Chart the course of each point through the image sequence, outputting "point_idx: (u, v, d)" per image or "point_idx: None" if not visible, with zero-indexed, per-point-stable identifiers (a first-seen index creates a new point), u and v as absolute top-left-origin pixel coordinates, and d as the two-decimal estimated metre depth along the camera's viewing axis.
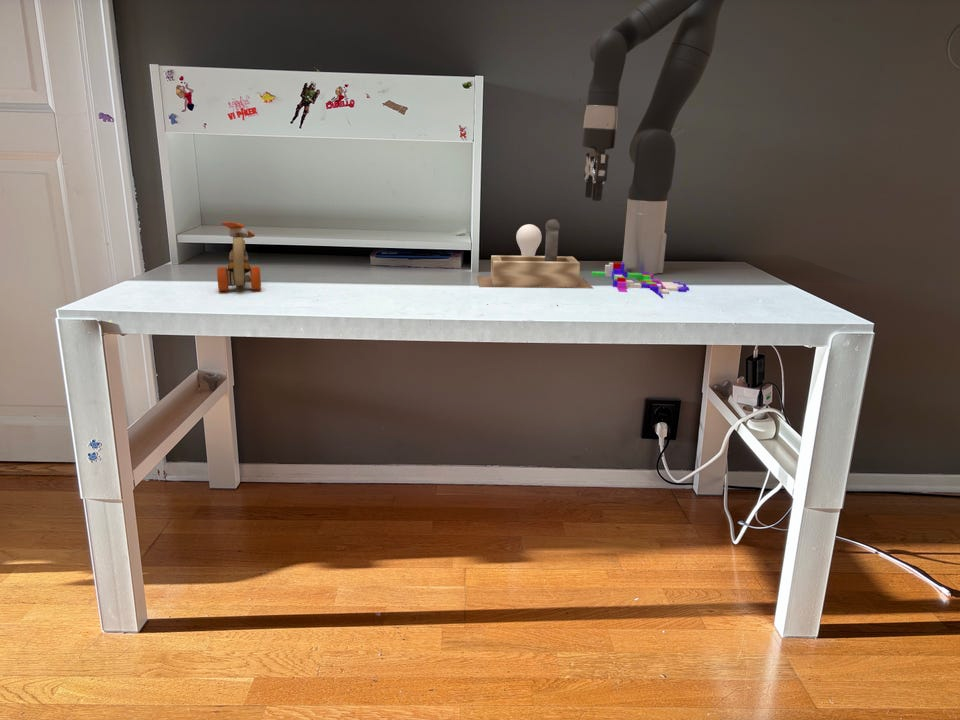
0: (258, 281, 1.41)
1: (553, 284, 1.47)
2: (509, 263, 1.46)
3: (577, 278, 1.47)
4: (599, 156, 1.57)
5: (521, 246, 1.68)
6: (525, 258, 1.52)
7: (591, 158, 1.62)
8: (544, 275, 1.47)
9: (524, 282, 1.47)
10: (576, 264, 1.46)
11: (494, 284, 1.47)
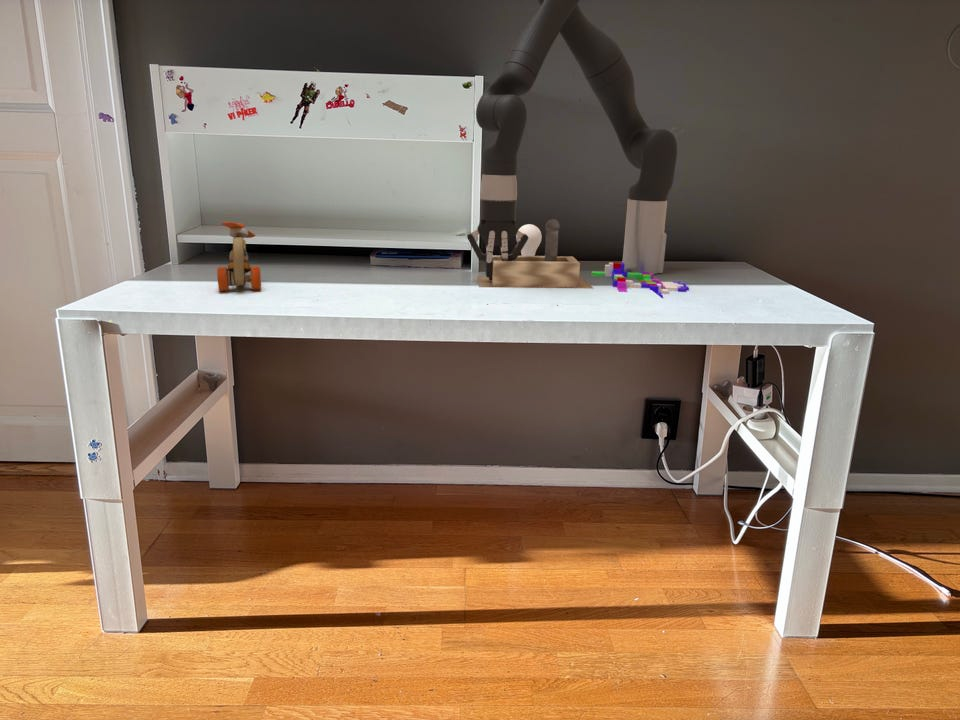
0: (258, 281, 1.41)
1: (553, 284, 1.47)
2: (509, 263, 1.46)
3: (577, 278, 1.47)
4: (527, 239, 1.48)
5: None
6: (525, 258, 1.52)
7: (507, 234, 1.46)
8: (544, 275, 1.47)
9: (524, 282, 1.47)
10: (576, 264, 1.46)
11: (494, 284, 1.47)
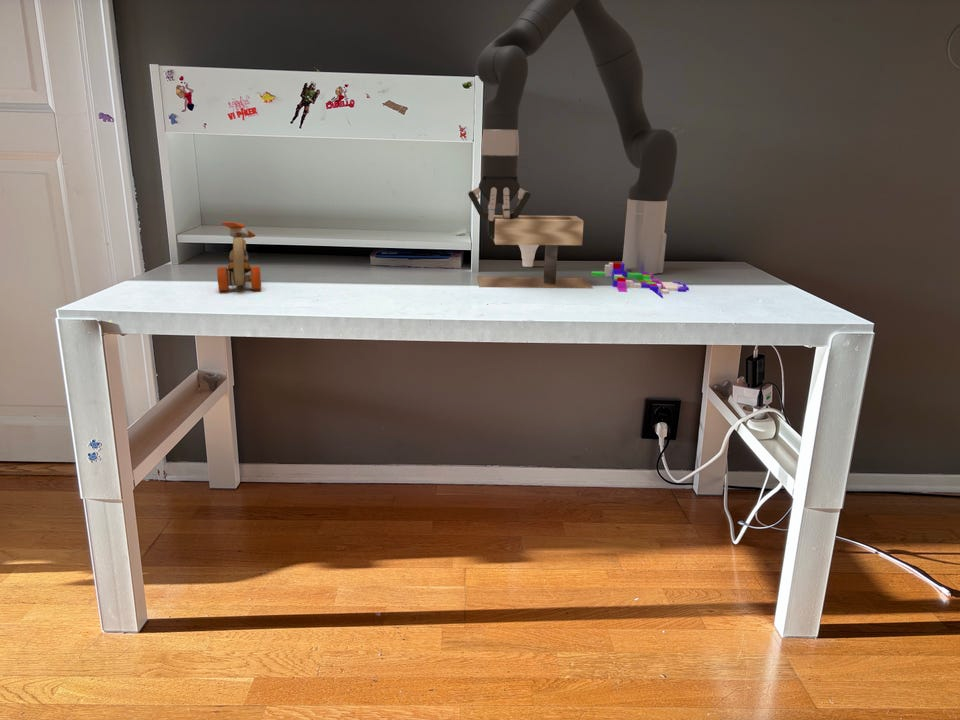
0: (258, 281, 1.41)
1: (556, 242, 1.45)
2: (511, 221, 1.43)
3: (581, 236, 1.45)
4: (529, 196, 1.45)
5: (521, 246, 1.68)
6: (527, 217, 1.50)
7: (509, 190, 1.44)
8: (547, 233, 1.44)
9: (527, 240, 1.44)
10: (580, 222, 1.44)
11: (496, 243, 1.44)
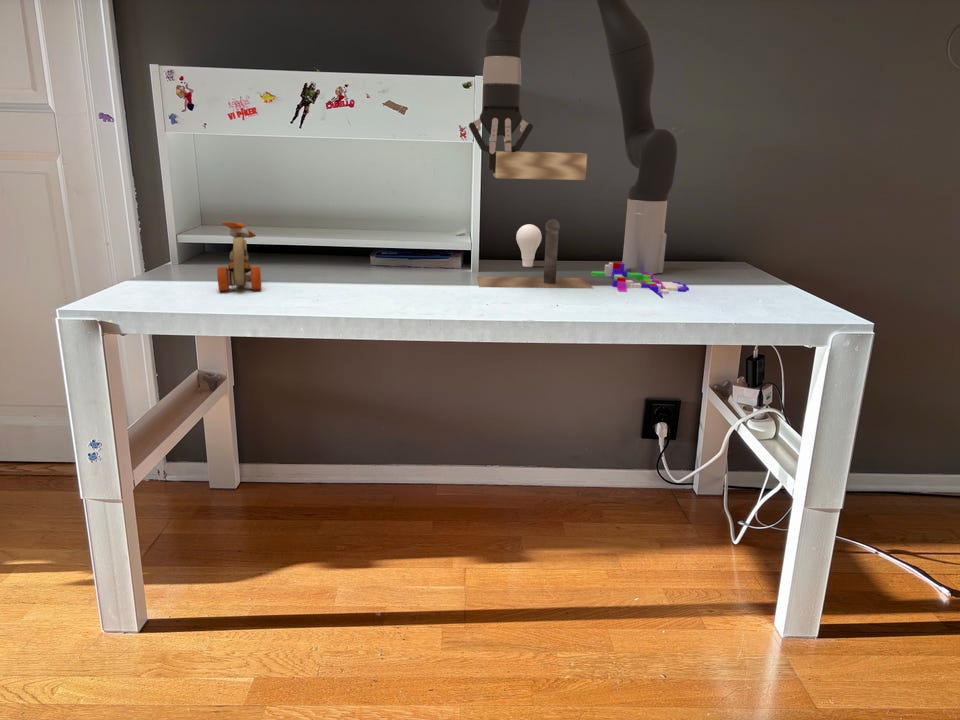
0: (258, 281, 1.41)
1: (559, 177, 1.41)
2: (513, 153, 1.39)
3: (584, 170, 1.41)
4: None
5: (521, 246, 1.68)
6: None
7: (510, 121, 1.40)
8: (549, 167, 1.40)
9: (529, 174, 1.40)
10: (583, 155, 1.40)
11: (497, 176, 1.40)
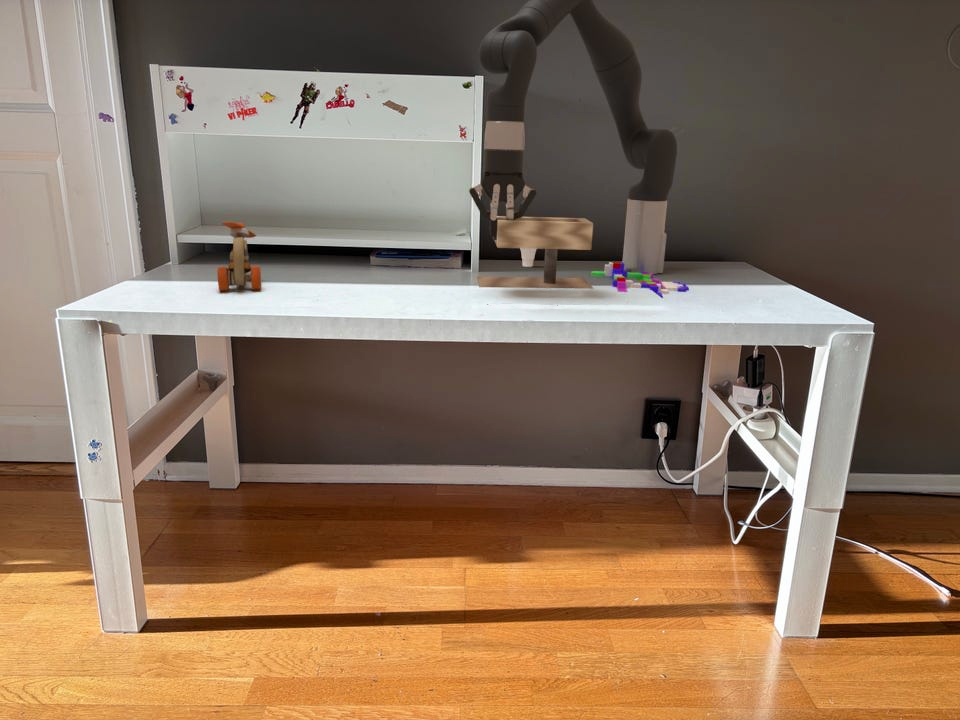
0: (258, 281, 1.41)
1: (563, 246, 1.34)
2: (515, 222, 1.32)
3: (590, 240, 1.34)
4: (535, 194, 1.34)
5: None
6: (533, 219, 1.39)
7: (513, 188, 1.33)
8: (553, 237, 1.33)
9: (531, 244, 1.34)
10: (589, 224, 1.33)
11: (498, 246, 1.33)
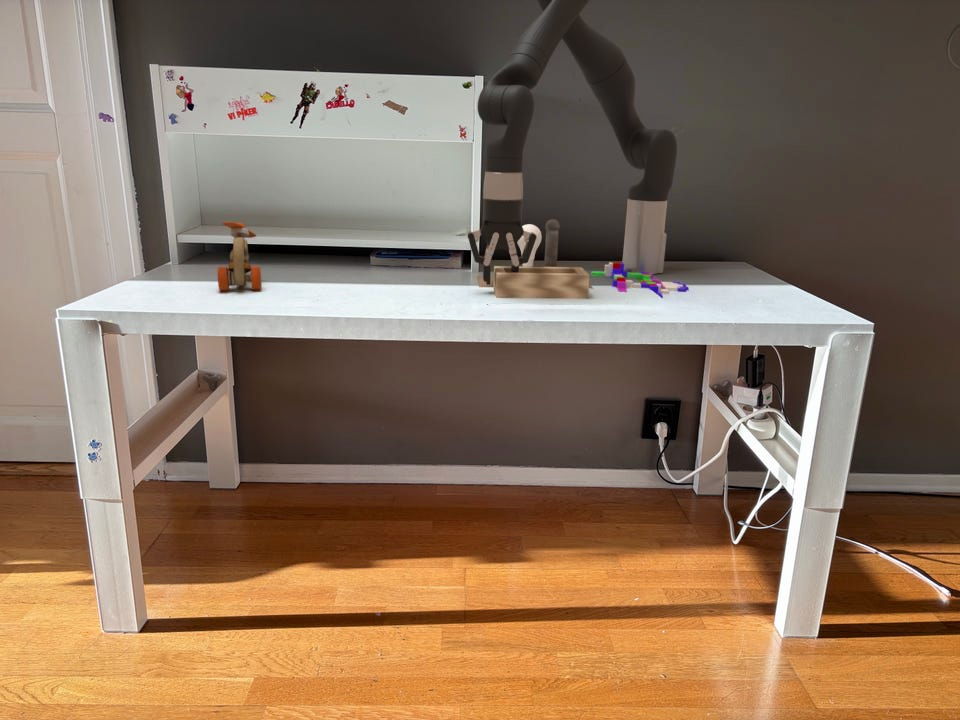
0: (258, 281, 1.41)
1: (560, 297, 1.37)
2: (513, 275, 1.35)
3: (587, 291, 1.37)
4: None
5: (521, 246, 1.68)
6: (530, 269, 1.42)
7: (512, 235, 1.36)
8: (550, 288, 1.37)
9: (529, 295, 1.37)
10: (585, 276, 1.36)
11: (497, 297, 1.37)
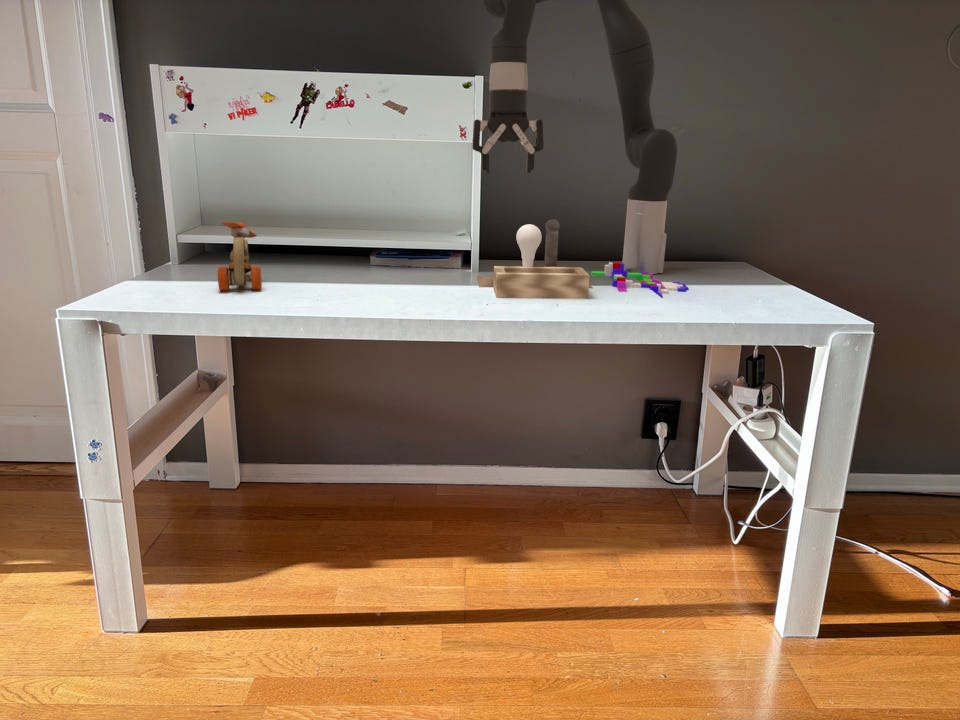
0: (258, 281, 1.41)
1: (560, 297, 1.37)
2: (513, 275, 1.35)
3: (587, 291, 1.37)
4: None
5: (521, 246, 1.68)
6: (530, 269, 1.42)
7: (518, 125, 1.40)
8: (550, 288, 1.37)
9: (529, 295, 1.37)
10: (585, 276, 1.36)
11: (497, 297, 1.37)
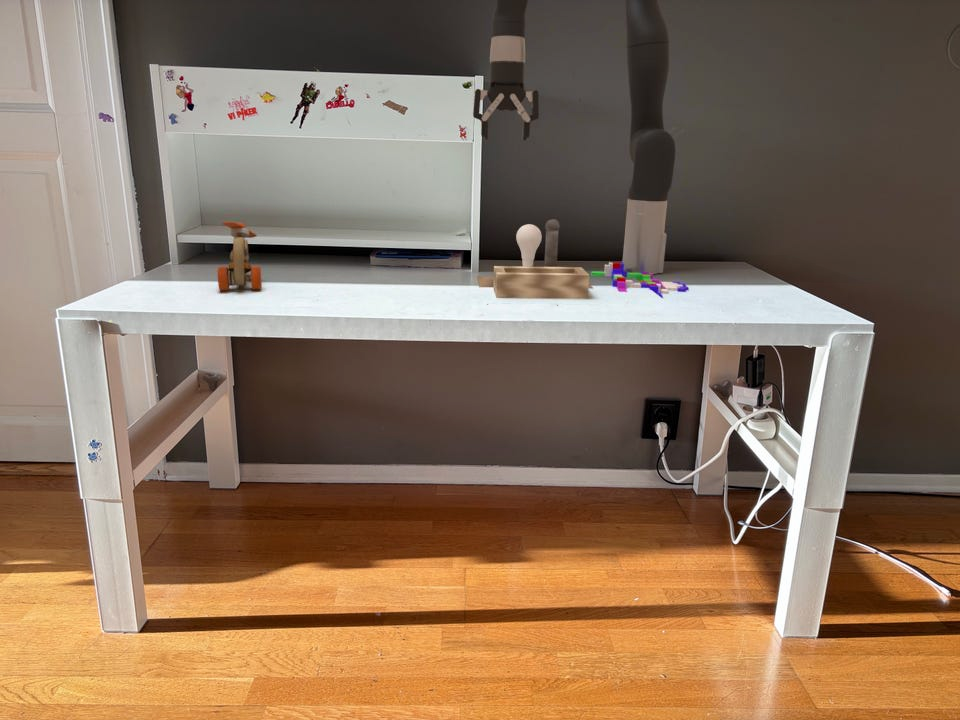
0: (258, 281, 1.41)
1: (560, 297, 1.37)
2: (513, 275, 1.35)
3: (587, 291, 1.37)
4: None
5: (521, 246, 1.68)
6: (530, 269, 1.42)
7: None
8: (550, 288, 1.37)
9: (529, 295, 1.37)
10: (585, 276, 1.36)
11: (497, 297, 1.37)
